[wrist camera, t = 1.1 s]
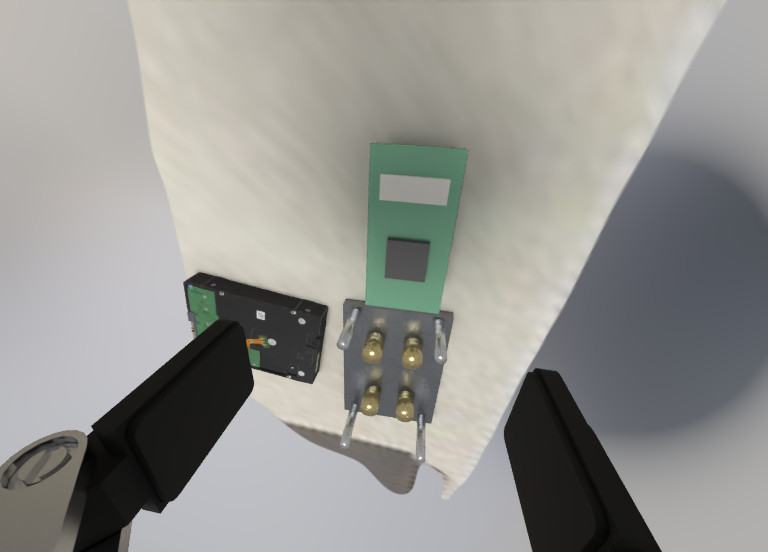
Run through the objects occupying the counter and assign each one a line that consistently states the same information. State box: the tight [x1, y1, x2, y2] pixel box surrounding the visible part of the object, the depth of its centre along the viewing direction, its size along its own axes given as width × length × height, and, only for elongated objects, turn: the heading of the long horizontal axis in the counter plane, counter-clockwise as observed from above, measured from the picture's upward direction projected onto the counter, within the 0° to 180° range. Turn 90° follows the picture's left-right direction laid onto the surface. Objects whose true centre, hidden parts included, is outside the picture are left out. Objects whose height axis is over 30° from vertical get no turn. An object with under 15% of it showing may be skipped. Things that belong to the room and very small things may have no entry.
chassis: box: [337, 299, 453, 463], centre depth 29 cm, size 16×11×6 cm
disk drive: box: [183, 272, 328, 384], centre depth 31 cm, size 10×3×15 cm
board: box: [365, 143, 468, 314], centre depth 20 cm, size 12×6×3 cm, turn 176°
